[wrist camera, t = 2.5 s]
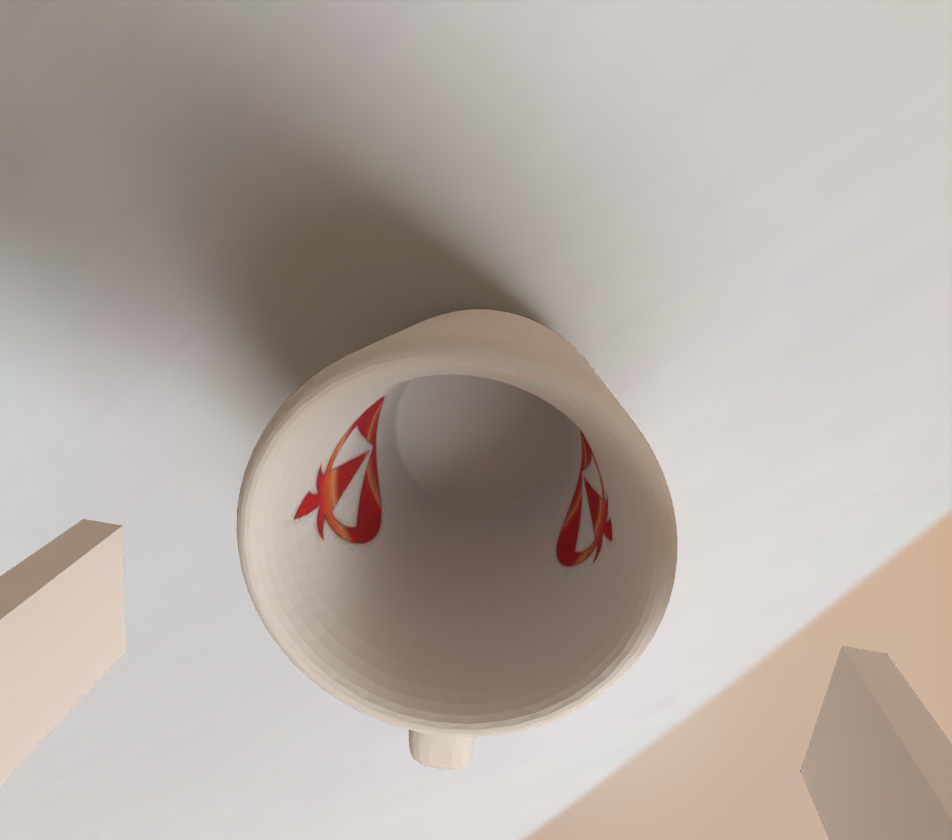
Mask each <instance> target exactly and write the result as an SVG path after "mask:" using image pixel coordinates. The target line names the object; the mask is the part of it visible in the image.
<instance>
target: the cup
mask: <svg viewBox="0 0 952 840" xmlns="http://www.w3.org/2000/svg"><path fill="white" fill-rule="evenodd" d="M237 541H238V551H239V557H240V562H241V568H242V572H243V575H244V579H245V582H246V585H247V589H248V592H249V594H250V596H251V599H252V601H253V604H254V606H255V608H256V610H257V612H258V614H259V616H260V618H261V619H262V621H263V623H264V625H265V627H266V628H267V630H268V631H269V633H270V635H271V636H272V637H273V639H274V640H275V641H276V643H277V644H278V645H279V646H280V648H281V649H282V650H283V651H284V653H285V654H286V655H287V656H288V658H289V659H290V660H291V661H292V662H293V663H294V664H295V665H296V666H297V667H298V668H299V669H300V670H301V671H302V672H303V673H305V674H306V675H307V676H308V677H309V678H310V679H311V680H312V681H314V682H315V683H316V684H317V685H318V686H319V687H321V688H322V689H323V690H325V691H326V692H328V693H329V694H331V695H333V696H334V697H336V698H337V699H339V700H341V701H342V702H344V703H345V704H347V705H349V706H350V707H352V708H353V709H355V710H357V711H359V712H362V713H364V714H366V715H369V716H371V717H373V718H376V719H378V720H381V721H383V722H385V723H388V724H390V725H394V726H397V727H401V728H405V729H409V746H410V752H411V755H412V756H413V758H414V759H415V760H416V761H418V762H420V763H421V764H423V765H424V766H429V767H434V768H439V769H453V770H454V769H460V768H462V767H464V766H466V765H467V764H468V763H469V761H470V760H471V757H472V753H473V745H474V737H488V736H495V735H502V734H508V733H515V732H521V731H525V730H528V729H532V728H535V727H539V726H542V725H544V724H547V723H550V722H553V721H556V720H558V719H560V718H563V717H565V716H567V715H568V714H570V713H572V712H574V711H576V710H578V709H580V708H582V707H584V706H585V705H587V704H589V703H590V702H591V701H593V700H594V699H596V698H597V697H599V696H600V695H602V694H603V693H604V692H606V691H607V690H608V689H609V688H610V687H611V686H613V685H614V684H615V683H616V682H617V681H619V680H620V679H621V678H622V677H623V675H624V674H625V673H626V672H627V671H628V670H629V669H630V668H631V667H632V666H633V664H634V663H635V662H636V661H637V660H638V659H639V657H640V656H641V654H642V653H643V652H644V650H645V649H646V647H647V646H648V644H649V643H650V641H651V640H652V638H653V636H654V634H655V632H656V630H657V628H658V626H659V624H660V622H661V620H662V618H663V616H664V613H665V610H666V608H667V605H668V602H669V600H670V596H671V592H672V588H673V584H674V578H675V570H676V563H677V528H676V520H675V514H674V508H673V503H672V499H671V495H670V491H669V489H668V486H667V483H666V480H665V477H664V474H663V472H662V469H661V467H660V465H659V463H658V461H657V459H656V457H655V455H654V453H653V451H652V449H651V447H650V445H649V444H648V442H647V440H646V439H645V437H644V436H643V434H642V433H641V431H640V430H639V428H638V427H637V426H636V424H635V423H634V421H633V420H632V419H631V418H630V416H629V415H628V414H627V412H626V411H625V410H624V409H623V407H622V406H621V405H620V403H619V402H618V401H617V399H616V398H615V397H614V396H613V394H612V393H611V392H610V390H609V389H608V388H607V387H606V385H605V384H604V383H603V381H602V380H601V379H600V377H599V376H598V375H597V374H596V372H595V371H594V370H593V368H592V367H591V366H590V365H589V363H588V362H587V361H586V360H585V359H584V357H583V356H582V355H581V354H580V353H579V352H578V351H577V350H576V349H575V348H574V347H573V346H572V345H571V344H570V343H569V342H567V341H566V340H565V339H563V338H562V337H561V336H560V335H558V334H557V333H555V332H554V331H552V330H551V329H549V328H547V327H546V326H544V325H542V324H540V323H538V322H536V321H533V320H531V319H528V318H526V317H523V316H520V315H516V314H512V313H509V312H503V311H497V310H485V309H472V310H461V311H455V312H450V313H445V314H441V315H438V316H435V317H432V318H429V319H426V320H424V321H421V322H419V323H417V324H415V325H412V326H410V327H408V328H406V329H404V330H401V331H399V332H397V333H395V334H393V335H390V336H388V337H386V338H384V339H382V340H379V341H377V342H375V343H373V344H371V345H368V346H366V347H364V348H362V349H359V350H357V351H355V352H353V353H351V354H349V355H347V356H345V357H343V358H341V359H339V360H337V361H336V362H334V363H332V364H331V365H329V366H327V367H326V368H324V369H323V370H321V371H320V372H319V373H317V374H316V375H314V376H313V377H312V378H311V379H309V380H308V381H307V382H305V383H304V384H303V385H302V386H301V387H300V388H299V389H298V390H297V391H296V392H295V393H294V394H292V395H291V396H290V397H289V398H288V399H287V401H286V402H285V403H284V404H283V405H282V406H281V408H280V409H279V410H278V411H277V412H276V413H275V415H274V416H273V418H272V419H271V421H270V422H269V424H268V425H267V427H266V428H265V430H264V431H263V433H262V435H261V437H260V439H259V440H258V442H257V444H256V446H255V448H254V450H253V452H252V455H251V457H250V460H249V462H248V465H247V467H246V470H245V473H244V477H243V481H242V485H241V489H240V494H239V502H238V509H237Z"/></svg>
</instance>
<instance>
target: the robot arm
mask: <svg viewBox="0 0 952 840" xmlns="http://www.w3.org/2000/svg"><path fill="white" fill-rule="evenodd" d="M125 652H126V623H125V589H124V556H123V526H122V525H116V524H110V523H104V522H98V521H92V520H86V519H83V520H81V521H80V522H78V523H77V524H75V525H74V526H73V527H71V528H70V529H68V530H67V531H65V532H64V533H62V534H61V535H60V536H58V537H57V538H55V539H54V540H52V541H51V542H49V543H48V544H47V545H45V546H44V547H42V548H41V549H39V550H38V551H36V552H35V553H33V554H32V555H31V556H29V557H28V558H26V559H25V560H23V561H22V562H20V563H19V564H18V565H16V566H15V567H13V568H12V569H10V570H9V571H7V572H6V573H5V574H3V575H2V576H0V785H1V784H2V783H3V782H4V781H5V780H6V779H7V778H8V777H9V776H10V774H11V773H12V772H13V771H14V770H15V769H16V768H17V767H18V766H19V765H20V764H21V763H22V762H23V761H24V760H25V758H26V757H27V756H28V755H29V754H30V753H31V752H32V751H33V750H34V749H35V748H36V747H37V746H38V745H39V744H40V742H41V741H42V740H43V739H44V738H45V737H46V736H47V735H48V734H49V733H50V732H51V731H52V730H53V729H54V728H55V726H56V725H57V724H58V723H59V722H60V721H61V720H62V719H63V718H64V717H65V716H66V715H67V714H68V713H69V712H70V710H71V709H72V708H73V707H74V706H75V705H76V704H77V703H78V702H79V701H80V700H81V699H82V698H83V697H84V696H85V694H86V693H87V692H88V691H89V690H90V689H91V688H92V687H93V686H94V685H95V684H96V683H97V682H98V681H99V680H100V678H101V677H102V676H103V675H104V674H105V673H106V672H107V671H108V670H109V669H110V668H111V667H112V666H113V665H114V664H115V662H116V661H117V660H118V659H119V658H120V657H121V656H122V655H123V654H124V653H125ZM800 772H801V774H802V776H803V779H804V781H805V783H806V786H807V788H808V791H809V793H810V795H811V798H812V800H813V802H814V805H815V807H816V810H817V812H818V814H819V816H820V819H821V821H822V824H823V826H824V828H825V831H826V833H827V836H828V838H829V840H952V744H951V742H950V741H949V739H948V738H947V737H946V735H945V734H944V732H943V731H942V730H941V728H940V727H939V726H938V724H937V723H936V721H935V720H934V718H933V717H932V716H931V714H930V713H929V712H928V710H927V709H926V707H925V706H924V705H923V703H922V702H921V700H920V699H919V698H918V696H917V695H916V693H915V692H914V691H913V689H912V688H911V687H910V685H909V684H908V682H907V681H906V680H905V678H904V677H903V675H902V674H901V673H900V671H899V670H898V669H897V667H896V666H895V664H894V663H893V661H892V660H891V659H890V657H889V656H888V654H887V653H881V652H875V651H869V650H863V649H857V648H851V647H845V646H842V648H841V650H840V653H839V656H838V659H837V662H836V665H835V668H834V671H833V674H832V677H831V680H830V683H829V686H828V689H827V692H826V696H825V698H824V701H823V704H822V707H821V710H820V713H819V716H818V719H817V722H816V725H815V728H814V731H813V734H812V737H811V740H810V743H809V747H808V749H807V752H806V755H805V758H804V761H803V764H802V767H801V770H800Z"/></svg>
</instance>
